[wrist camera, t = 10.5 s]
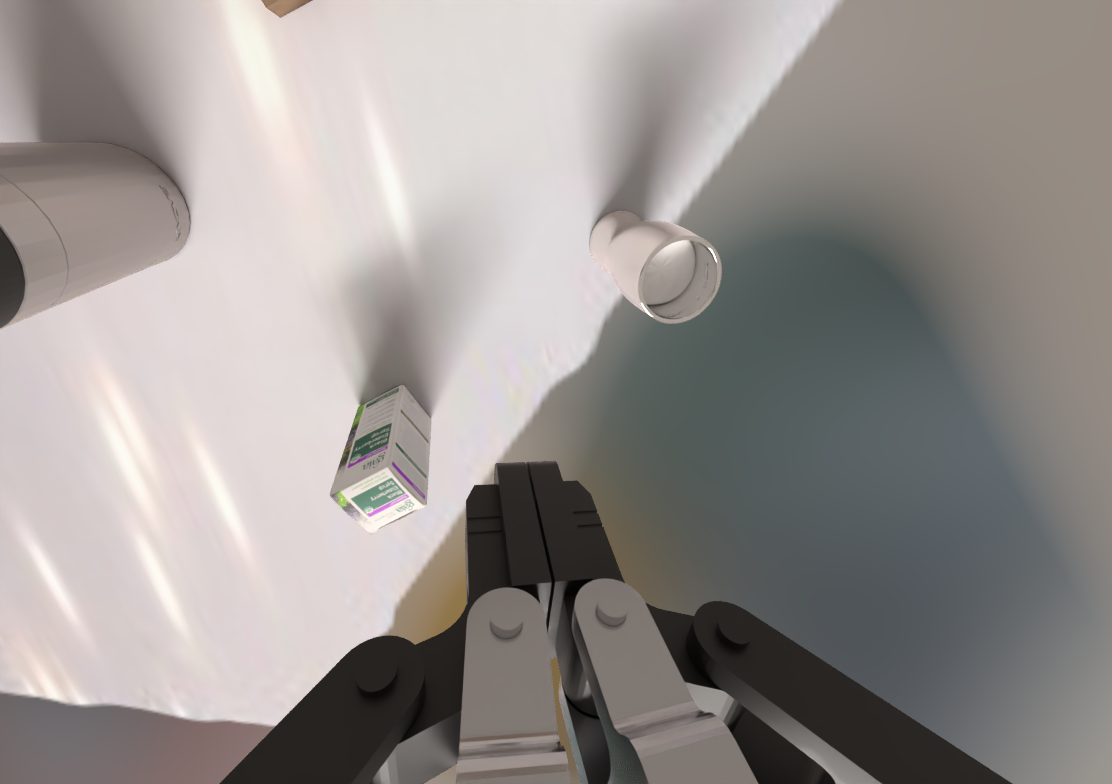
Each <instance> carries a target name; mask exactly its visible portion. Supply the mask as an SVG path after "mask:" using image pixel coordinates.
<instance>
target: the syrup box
mask: <svg viewBox="0 0 1112 784" xmlns="http://www.w3.org/2000/svg"><path fill="white" fill-rule="evenodd" d="M430 435H431V419H430V418H429V416H428V415H427V414H426V413H425V411H424V410H423V409H422V407H421V406H420V405H419V404H418V402H417V401H416V400H415V398H414V397H413V396H412V395H411V393H410V392H409V391H408V390H407V388H406V387H405V386H404V385H403V384H402V385H400V386H398V387H396V388H394V389H392V390H390V391H388V392H386V393H384V394H382V395H380V396H378V397H376V398H374V399H372V400H371V401H369V402H367V403H365V404H363V405H361V406H359V407H358V410H357V413H356V416H355V419H354V422H353V425H352V428H351V431H350V434H349V437H348V440H347V443H346V446H345V449H344V452H343V455H342V458H341V461H340V464H339V467H338V470H337V473H336V476H335V480H334V482H333V486H332V489H331V492H330V496H331V498H332V499H333V500H334V501H335V502H336V503H337V504H338V505H339V506H340V507H341V508H342V509H343V510H344V511H345V512H346V513H347V514H348V515H349V516H350V517H351V518H352V519H354V520H355V521H356V522H357V523H358V524H360V525H361V526H362V527H363V528H364V529H366V530H367V531H368V532H369V533H370V534H372V533H374V532H376V531H377V530H379V529H380V528H382V527H384V526H386V525H389V524H391V523H393V522H395V521H398V520H400V519H402V518H404V517H406V516H408V515H409V514H411V513H413V512H415V511H417V510H419V509H421V508H423V507H425V506H426V504H427V489H428V472H429V455H430V438H431V436H430Z"/></svg>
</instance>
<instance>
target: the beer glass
mask: <svg viewBox="0 0 1112 784" xmlns="http://www.w3.org/2000/svg"><path fill="white" fill-rule="evenodd" d="M590 252H591V256H592V258H593V260H594V262H595V263H596V264H597V265H598V266H599V267H600V268H601V269H603V270H605V271H607V272H610V273H611V275H612V277H613V279H614V281H615V283H616V285H617V287H618V288H619V290H620V291H621V293H622V294H623V295H624V296H625V297H626V298H627V299H628V300H629V301H630V302H631V303H633V304H634V305H635V306H636V307H638V308H639V309H641V310H642V311H644V312H645V313H647V314H648V315H649V316H651V317H652V318H654V319H655V320H657V321H660V322H663V323H669V324H671V323H672V324H674V323H681V322H685V321H688V320H690V319H692V318H694V317H695V316H697V315H698V314H700V313H701V312H702V311H703V310H705V309H706V308H707V307H708V305H709V304H710V303H711V301H712V300H713V299H714V297H715V295H716V293H717V291H718V289H719V285H720V282H721V276H722V266H721V261H720V257H719V255H718V253H717V251H716V250H715V248H714V247H713V246H712V245H711V244H710V243H709V242H708V241H706V240H705V239H703V238H700V237H698V236H697V235H695V234H694V233H692V232H690V231H689V230H687V229H685V228H683V227H680V226H678V225H675V224H672V223H669V222H664V221H642V220H641V219H640V218H639V217H637V216H636V215H635V214H633V213H631V212H628V211H615V212H612V213H609V214H607V215H606V216H604V217H603V218H602V219H601V220H600V221H599V222H598V223H597V224H596V226H595V227H594V229H593V231H592V234H591V237H590Z"/></svg>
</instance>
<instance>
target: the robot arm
mask: <svg viewBox="0 0 1112 784" xmlns="http://www.w3.org/2000/svg"><path fill="white" fill-rule="evenodd" d="M189 230H190V219H189V212H188V209H187V206H186V204H185V201H184V199H183V197H182V195H181V193H180V192H179V190H178V188H177V187H176V185H175V184H174V183H173V182H172V181H171V179H170V178H169V177H168V176H167V175H166V174H165V173H164V172H163V171H162V170H161V169H160V168H158V167H157V166H156V165H155V164H154V163H152V162H151V161H149V160H148V159H146V158H145V157H143V156H142V155H140V154H138V153H136V152H133V151H131V150H129V149H127V148H124V147H121V146H117V145H113V144H110V143H98V142H17V143H0V329H2V328H4V327H7V326H9V325H11V324H14V323H16V322H19V321H21V320H23V319H26V318H28V317H31V316H33V315H35V314H37V313H40V312H42V311H44V310H47V309H49V308H52V307H54V306H56V305H59V304H61V303H64V302H66V301H69V300H71V299H73V298H76V297H78V296H81V295H83V294H85V293H88V292H90V291H93V290H95V289H97V288H100V287H102V286H105V285H107V284H110V283H112V282H114V281H117V280H119V279H122V278H124V277H126V276H129V275H131V274H134V273H136V272H139V271H141V270H144V269H146V268H148V267H151V266H153V265H156V264H158V263H160V262H163V261H165V260H167V259H170V258H171V257H173V256H174V255H176V254H177V253H179V251H180V250H181V249H182V248H183V246H184V245H185V243H186V241H187V238H188V236H189ZM465 543H466V544H465V550H466V590H467V605H466V607H465V610H464V612H463V613H462V615H461V617H460V618H459V619H458V620H457V621H456V622H455V623H454V624H453V625H452V626H451V627H450V628H448V629H447V630H445V631H444V632H442V633H440V634H438V635H437V636H435V637H432V638H430V639H428V640H425V641H423V642H421V643H418V644H416V645H414V644H413V643H412V642H410V641H408V640H407V639H405V638H401V637H398V636H380V637H376V638H372V639H370V640H367V641H365V642H363V643H361V644H359V645H358V646H356V647H355V648H353V649H352V650H351V651H350V652H349V653H347V654H346V655H345V656H344V657H343V658H342V659H341V660H340V661H339V662H338V663H337V664H336V665H335V666H334V667H333V668H332V669H331V670H330V672H329V673H328V674H327V675H326V676H325V677H324V678H323V679H322V680H321V681H320V682H319V683H318V684H317V685H316V686H315V687H314V688H313V689H312V690H311V691H310V692H309V693H308V694H307V695H306V696H305V697H304V698H303V699H302V700H301V701H300V702H299V703H298V704H297V705H296V706H295V707H294V708H293V709H292V710H291V711H290V712H289V713H288V714H287V715H286V716H285V717H284V718H283V719H282V720H281V721H280V722H279V724H278V725H277V726H276V727H275V728H274V729H273V730H272V731H271V732H270V733H269V734H268V735H267V736H266V737H265V738H264V739H263V740H262V741H261V742H260V743H259V744H258V745H257V746H256V747H255V748H254V749H253V750H252V751H251V752H250V753H249V754H248V755H247V756H246V757H245V758H244V759H243V760H242V761H241V762H240V763H239V764H238V766H236V767H235V769H233V770H232V772H230V773H229V775H228V776H227V777H226V778H225V779H224V780H223V781H222V782H221V783H220V784H424V783H426V782H427V781H429V780H430V779H432V778H434V777H436V776H437V775H439V774H440V773H442V772H444V771H446V770H448V769H449V768H451V767H452V766H454V765H456V764H457V775H456V784H571V781H570V773H569V766H568V761H567V756H566V752H565V749H564V747H563V746H562V745H561V744H560V741H559V736H558V730H557V720H556V710H555V701H554V692H553V683H552V673H551V663H550V659H552V658H557V659H558V664H559V669H560V674H561V680H560V685H559V700H560V705H561V708H562V712H563V716H564V720H565V724H566V728H567V731H568V735H569V739H570V743H571V747H572V751H573V755H574V759H575V763H576V767H577V771H578V775H579V778H580V782H581V784H1012V783H1010V782H1009V781H1007V780H1006V779H1004V778H1003V777H1001V776H1000V775H998V774H997V773H995V772H993V771H992V770H990V769H989V768H987V767H986V766H984V765H983V764H981V763H980V762H978V761H977V760H975V759H974V758H972V757H970V756H969V755H967V754H966V753H964V752H963V751H961V750H960V749H958V748H956V747H955V746H954V745H952V744H950V743H949V742H947V741H946V740H944V739H943V738H941V737H940V736H938V735H936V734H935V733H933V732H932V731H930V730H929V729H927V728H926V727H924V726H923V725H921V724H920V723H918V722H916V721H915V720H913V719H912V718H910V717H909V716H907V715H906V714H904V713H903V712H901V711H900V710H898V709H897V708H895V707H893V706H892V705H891V704H889V703H887V702H886V701H884V700H883V699H881V698H880V697H878V696H877V695H875V694H873V693H872V692H871V691H869V690H867V689H866V688H864V687H863V686H861V685H860V684H858V683H857V682H855V681H853V680H852V679H850V678H849V677H847V676H846V675H844V674H843V673H841V672H840V671H838V670H837V669H835V668H833V667H832V666H830V665H829V664H827V663H826V662H824V661H823V660H821V659H820V658H818V657H816V656H815V655H814V654H812V653H811V652H809V651H808V650H806V649H804V648H803V647H801V646H800V645H798V644H797V643H795V642H794V641H792V640H791V639H789V638H787V637H786V636H784V635H783V634H781V633H780V632H778V631H777V630H775V629H774V628H772V627H771V626H769V625H768V624H766V623H764V622H763V621H761V620H760V619H758V618H757V617H755V616H754V615H752V614H751V613H749V612H748V611H746V610H744V609H743V608H741V607H738V606H736V605H734V604H731V603H728V602H722V601H713V602H709V603H706V604H704V605H702V606H701V607H700V608H699V609H698V610H697V612H696V614H695V616H690V615H686V614H681V613H676V612H671V611H666V610H662V609H658V608H656V607H653V606H651V605H649V604H647V603H645V602H644V600H643V598H642V597H641V596H640V595H639V593H638V592H637V591H635V590H634V589H633V588H632V587H630V586H629V585H627V584H625V582H624V580H623V578H622V575H621V572H620V570H619V567H618V565H617V562H616V559H615V557H614V554H613V551H612V549H611V546H610V544H609V541H608V538H607V536H606V533H605V531H604V528H603V527H602V523H601V520H600V517H599V515H598V514H597V509H596V507H595V504H594V502H593V499H592V496H591V494H590V493H589V492H588V491H587V490H586V489H585V488H584V487H583V486H582V485H581V484H580V483H579V482H578V481H563V480H562V477H561V474H560V470H559V467H558V464H557V462H556V461H544V462H527V463H525V462H518V463H496V464H495V473H494V484H493V485H474V487H473V489H472V491H471V493H470V494H469V496H468V498H467V500H466V540H465Z"/></svg>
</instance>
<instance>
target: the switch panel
mask: <svg viewBox="0 0 1112 784" xmlns="http://www.w3.org/2000/svg"><path fill="white" fill-rule="evenodd" d="M310 1H312V0H262V2H263V3H264V5H265V7H266V8H268V9H269V10H270V11H272V12H273V13H275V14H276V15H278V16H279V17H280V18H281V17H283V16H285V15H286V14H288V13H290V12H292V11H294V10H295V9H297V8H299V7H301V6H303V5H305V4H306V3H308V2H310Z"/></svg>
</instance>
